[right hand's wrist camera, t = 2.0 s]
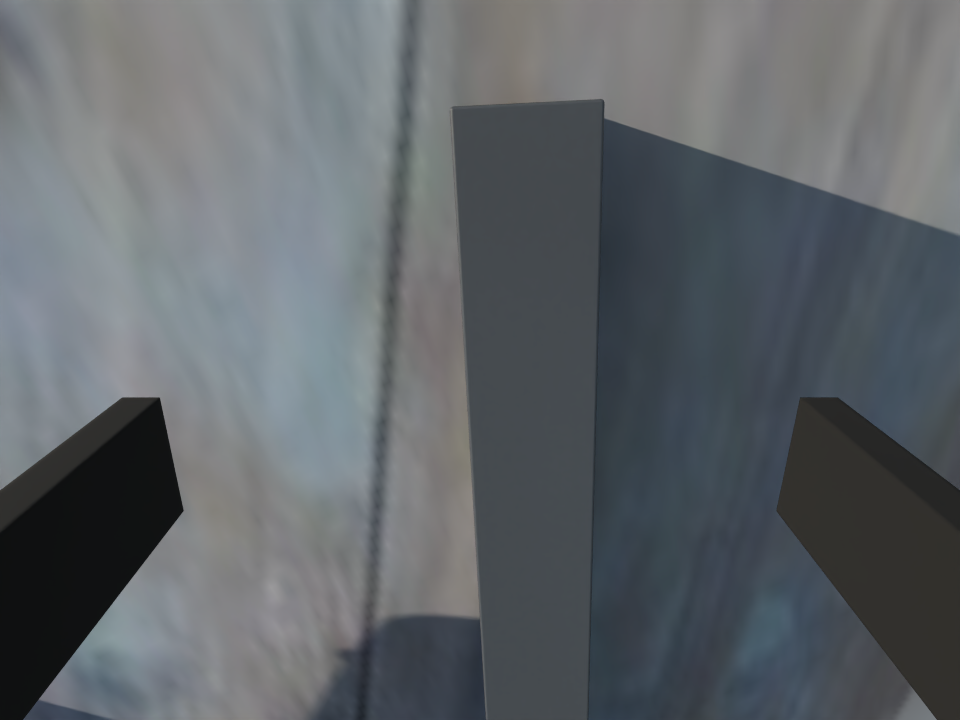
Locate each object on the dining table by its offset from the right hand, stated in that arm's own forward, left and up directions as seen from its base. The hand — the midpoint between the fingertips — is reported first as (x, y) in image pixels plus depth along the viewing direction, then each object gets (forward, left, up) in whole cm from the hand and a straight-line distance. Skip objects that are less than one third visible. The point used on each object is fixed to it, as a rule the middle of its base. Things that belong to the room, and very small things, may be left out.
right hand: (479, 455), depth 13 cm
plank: (+5, +19, -15) cm, 25 cm away
